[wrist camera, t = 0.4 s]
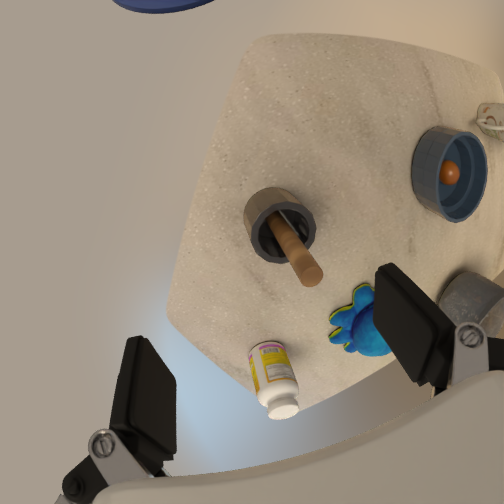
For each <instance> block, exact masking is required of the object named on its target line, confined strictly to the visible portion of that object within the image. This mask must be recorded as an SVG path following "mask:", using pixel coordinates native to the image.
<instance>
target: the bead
mask: <svg viewBox="0 0 504 504" xmlns="http://www.w3.org/2000/svg"><path fill="white" fill-rule="evenodd" d="M459 175H460V173H459V168H458V166H457V165H456V164H455V163H454V162H453V161H451V160H443V161H442V164H441V169H440V173H439V180H440V181H441V182H442V183H444V184H446V185H453V184H455V183H456V182H457V181H458V179H459Z"/></svg>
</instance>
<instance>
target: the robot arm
mask: <svg viewBox="0 0 504 504" xmlns="http://www.w3.org/2000/svg"><path fill="white" fill-rule="evenodd" d="M373 324H374V326H375V328H376V329H377V330H378V332H379V333H380V335H381V336H382V338H383V339H384V340H385V342H386V343H387V345H388V346H389V348H390V349H391V350H392V352H393V353H394V355H395V356H396V358H397V359H398V361H399V362H400V364H401V365H402V367H403V368H404V370H405V371H406V373H407V374H408V376H409V377H410V379H411V380H412V381H413V382H417V384H418V385H419V386H422V385H424V384H426V383H427V382H430V384H431V385H432V392H431V398H430V400H428V401H426V402H424V403H423V404H421V405H419V406H417V407H416V408H414V409H412V410H410V411H408V412H406V413H404V414H402V415H400V416H398V417H397V418H395V419H392V420H391V421H388V422H386V423H384V424H382V425H380V426H378V427H376V428H373V429H371V430H369V431H367V432H365V433H362V434H360V435H357V436H355V437H352V438H350V439H347V440H344V441H342V442H340V443H336V444H334V445H331V446H328V447H325V448H322V449H319V450H316V451H313V452H310V453H306V454H303V455H300V456H296V457H293V458H289V459H285V460H281V461H277V462H273V463H269V464H264V465H259V466H254V467H249V468H244V469H238V470H232V471H225V472H218V473H209V474H199V475H188V476H176V477H175V476H174V477H172V476H171V475H170V474H169V473H168V472H167V471H166V470H165V469H164V468H163V461H169V460H173V454H175V453H176V451H177V445H176V380H175V377H174V376H173V374H172V373H171V372H170V370H169V369H168V367H167V366H166V365H165V363H164V362H163V360H162V359H161V357H160V356H159V355H158V353H157V352H156V350H155V349H154V347H153V346H152V344H151V343H150V341H149V340H148V339H147V338H143V336H141V335H140V336H135V337H131V338H128V339H127V342H126V346H125V350H124V355H123V359H122V364H121V369H120V373H119V375H118V379H117V384H116V389H115V394H114V400H113V406H112V412H111V418H110V425H109V429H101V430H98V431H96V432H95V433H94V434H93V435H92V436H91V438H90V440H89V443H88V451H89V455H88V456H87V457H86V458H85V459H84V460H83V461H82V462H81V463H79V464H78V465H77V466H76V467H75V468H74V469H73V470H71V471H70V472H69V473H68V474H67V475H66V476H65V478H64V480H63V483H62V489H63V492H64V495H61V494H60V495H59V497H58V499H57V501H56V502H55V504H504V339H499V338H492V337H487V335H486V332H485V330H484V329H483V328H482V327H481V326H480V325H479V324H477V323H475V322H463V323H461V324H460V325H458V326H456V325H455V324H454V323H453V322H452V321H451V320H450V319H449V317H448V316H447V315H446V314H445V313H444V312H443V311H442V310H441V309H440V308H439V307H438V306H437V305H436V304H435V303H434V302H433V301H432V300H431V299H430V298H429V297H428V296H427V295H426V294H425V293H424V292H423V291H422V290H421V289H420V288H419V287H418V286H417V285H416V284H415V283H414V282H413V281H412V280H411V279H410V278H409V277H408V276H407V275H406V274H405V273H403V272H402V271H401V270H400V269H399V268H398V267H397V266H396V265H395V264H394V263H388V264H385V265H382V266H380V267H379V268H378V271H377V272H376V273H375V290H374V306H373Z"/></svg>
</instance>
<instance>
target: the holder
mask: <svg viewBox="0 0 504 504" xmlns="http://www.w3.org/2000/svg"><path fill="white" fill-rule="evenodd" d="M277 210H278V211H279V212H280V213H281V215H282V216H283V217H284V219H285V220H286V221H287V223H288V224H289V225H290V227H291V228H292V229H293V231H294V232H295V233H296V235H297V236H298V237H299V239H300V240H301V241H302V243H303V244H304V246H305V247H306V248H307V250H308V249H309V248H310V246H311V245H312V243H313V242H314V239H315V233H316V224H315V221H314V218H313V215H312V213H311V212H310V211H309V210H307V209H306V208H305V207H304V206H303V205H302V204H301V203H300V202H299V201H298V200H297V199H296V198H295V197H294V196H293V195H292V194H291V193H289V192H288V191H286V190H284V189H281V188H266V189H263V190H260V191H259V192H257V193H256V194H254V195H253V196H252V197H251V198H250V199H249V201H248V202H247V204H246V206H245V209H244V225H245V227H246V230H247V233H248V235H249V238H250V241H251V243H252V245H253V248H254V250H255V252H256V253H257V254H258V255H259V256H260V257H262V258H263V259H264V260H266V261H268V262H272V263H278V264H283V263H288V262H289V260H288V258H287V257H286V255H285V253H284V251H283V250H282V248H281V246H280V244H279V243H278V241H277V239H276V237H275V236H274V234H273V232H272V230H271V229H270V227H269V225H268V223H267V222H266V220H265V218H266V217H267V216H269V215H270V214H272V213H273V212H274V211H277Z"/></svg>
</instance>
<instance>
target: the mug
mask: <svg viewBox="0 0 504 504" xmlns="http://www.w3.org/2000/svg"><path fill="white" fill-rule="evenodd" d="M476 124H477V125H478V126H479V127H480V129H481V130H482V132H483V133H485V134H487V135H489V136H492V137H494V138H496V139H498V140H500V141H502V142H504V104H495V103H483V104H481V105H480V106H479V109H478V119H477V120H476Z"/></svg>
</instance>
